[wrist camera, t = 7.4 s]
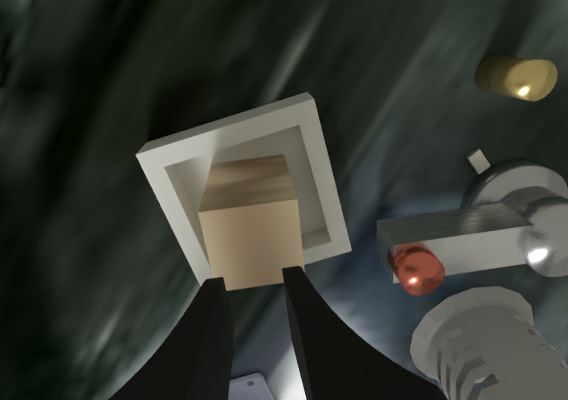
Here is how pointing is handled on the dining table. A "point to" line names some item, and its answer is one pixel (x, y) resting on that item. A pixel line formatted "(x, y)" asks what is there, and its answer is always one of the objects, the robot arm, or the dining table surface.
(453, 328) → the french press
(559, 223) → the crank
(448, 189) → the dining table surface
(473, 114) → the dining table surface
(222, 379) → the robot arm
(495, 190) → the crank base
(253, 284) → the block
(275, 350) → the dining table surface
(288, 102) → the tray
